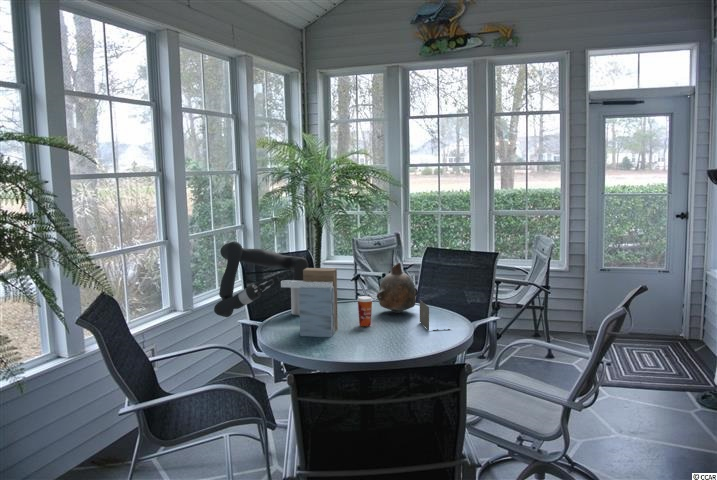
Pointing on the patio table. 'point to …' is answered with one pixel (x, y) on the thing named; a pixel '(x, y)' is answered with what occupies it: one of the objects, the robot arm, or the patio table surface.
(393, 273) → the jug
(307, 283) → the aluminium bar
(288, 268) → the robot arm
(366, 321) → the coffee cup
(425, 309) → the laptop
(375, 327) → the patio table surface
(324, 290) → the display riser
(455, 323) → the patio table surface
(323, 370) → the patio table surface
